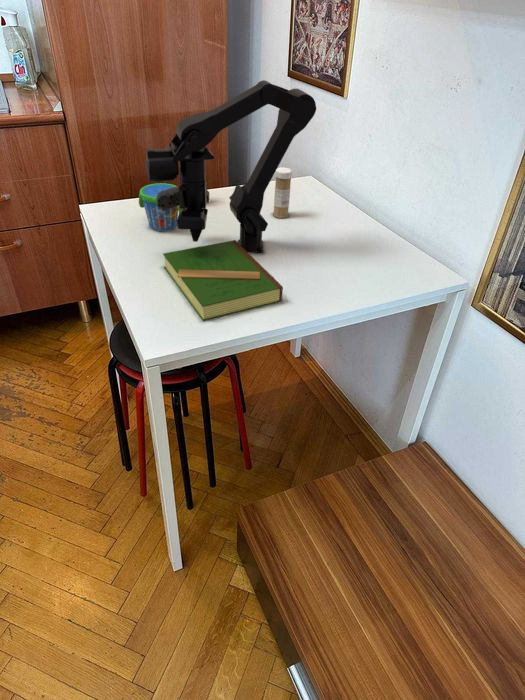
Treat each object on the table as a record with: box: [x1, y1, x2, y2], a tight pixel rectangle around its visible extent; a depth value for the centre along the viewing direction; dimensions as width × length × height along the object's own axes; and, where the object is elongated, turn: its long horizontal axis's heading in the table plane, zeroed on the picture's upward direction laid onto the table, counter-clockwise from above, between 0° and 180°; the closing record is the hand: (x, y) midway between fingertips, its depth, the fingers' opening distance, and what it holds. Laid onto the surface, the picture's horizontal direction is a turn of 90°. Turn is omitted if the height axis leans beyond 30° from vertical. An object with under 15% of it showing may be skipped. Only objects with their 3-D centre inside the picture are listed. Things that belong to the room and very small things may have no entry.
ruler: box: [178, 269, 260, 280], centre depth 112 cm, size 3×18×1 cm, turn 92°
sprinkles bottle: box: [272, 166, 293, 219], centre depth 144 cm, size 5×5×13 cm
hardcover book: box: [162, 239, 284, 322], centre depth 115 cm, size 25×19×4 cm
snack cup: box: [138, 182, 183, 232], centre depth 136 cm, size 16×10×10 cm
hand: (195, 240), depth 125 cm, fingers closed
